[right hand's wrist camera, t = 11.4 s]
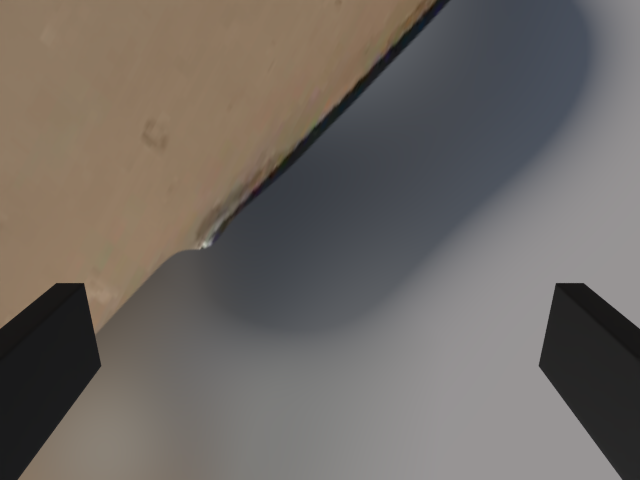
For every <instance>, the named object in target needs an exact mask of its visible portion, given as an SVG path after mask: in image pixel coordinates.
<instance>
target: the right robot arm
mask: <svg viewBox="0 0 640 480" xmlns="http://www.w3.org/2000/svg"><path fill="white" fill-rule="evenodd" d="M100 367H101V362H100V358H99V353H98V348H97V343H96V338H95V334H94V329H93V324H92V319H91V314H90V310H89V305H88V300H87V295H86V290H85V286H84V283H56V284H55V285H54V286H52V287H51V288H50V289H49V290H48V291H46V292H45V293H44V294H43V295H41V296H40V297H39V298H38V299H36V300H35V301H34V302H33V303H32V304H30V305H29V306H28V307H27V308H25V309H24V310H23V311H22V312H21V313H19V314H18V315H17V316H16V317H14V318H13V319H12V320H11V321H9V322H8V323H7V324H6V325H5V326H3V327H2V328H1V329H0V480H18V478H19V477H20V476H21V474H22V473H23V472H24V470H25V469H26V467H27V466H28V465H29V463H30V462H31V461H32V459H33V458H34V457H35V455H36V454H37V453H38V451H39V450H40V448H41V447H42V446H43V444H44V443H45V442H46V440H47V439H48V438H49V436H50V435H51V434H52V432H53V431H54V429H55V428H56V427H57V425H58V424H59V423H60V421H61V420H62V419H63V417H64V416H65V414H66V413H67V412H68V410H69V409H70V408H71V406H72V405H73V404H74V402H75V401H76V400H77V398H78V397H79V395H80V394H81V393H82V391H83V390H84V389H85V387H86V386H87V385H88V383H89V382H90V380H91V379H92V378H93V376H94V375H95V374H96V372H97V371H98V370H99V368H100ZM539 367H540V368H541V370H542V371H543V372H544V374H545V375H546V376H547V378H548V379H549V380H550V382H551V383H552V385H553V386H554V387H555V389H556V390H557V391H558V393H559V394H560V395H561V397H562V398H563V400H564V401H565V402H566V404H567V405H568V406H569V408H570V409H571V410H572V412H573V413H574V414H575V416H576V417H577V418H578V420H579V421H580V423H581V424H582V425H583V427H584V428H585V429H586V431H587V432H588V434H589V435H590V436H591V438H592V439H593V440H594V442H595V443H596V444H597V446H598V447H599V448H600V450H601V451H602V453H603V454H604V455H605V457H606V458H607V459H608V461H609V462H610V463H611V465H612V466H613V468H614V469H615V470H616V472H617V473H618V474H619V476H620V477H621V478H622V480H640V329H639V328H638V327H637V326H635V325H634V324H633V323H632V322H631V321H629V320H628V319H627V318H626V317H624V316H623V315H622V314H621V313H619V312H618V311H617V310H616V309H615V308H613V307H612V306H611V305H610V304H608V303H607V302H606V301H605V300H604V299H602V298H601V297H600V296H599V295H597V294H596V293H595V292H594V291H592V290H591V289H590V288H589V287H588V286H586V285H585V284H584V283H556V286H555V290H554V295H553V300H552V305H551V310H550V314H549V319H548V324H547V329H546V334H545V339H544V344H543V348H542V353H541V358H540V362H539Z"/></svg>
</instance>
